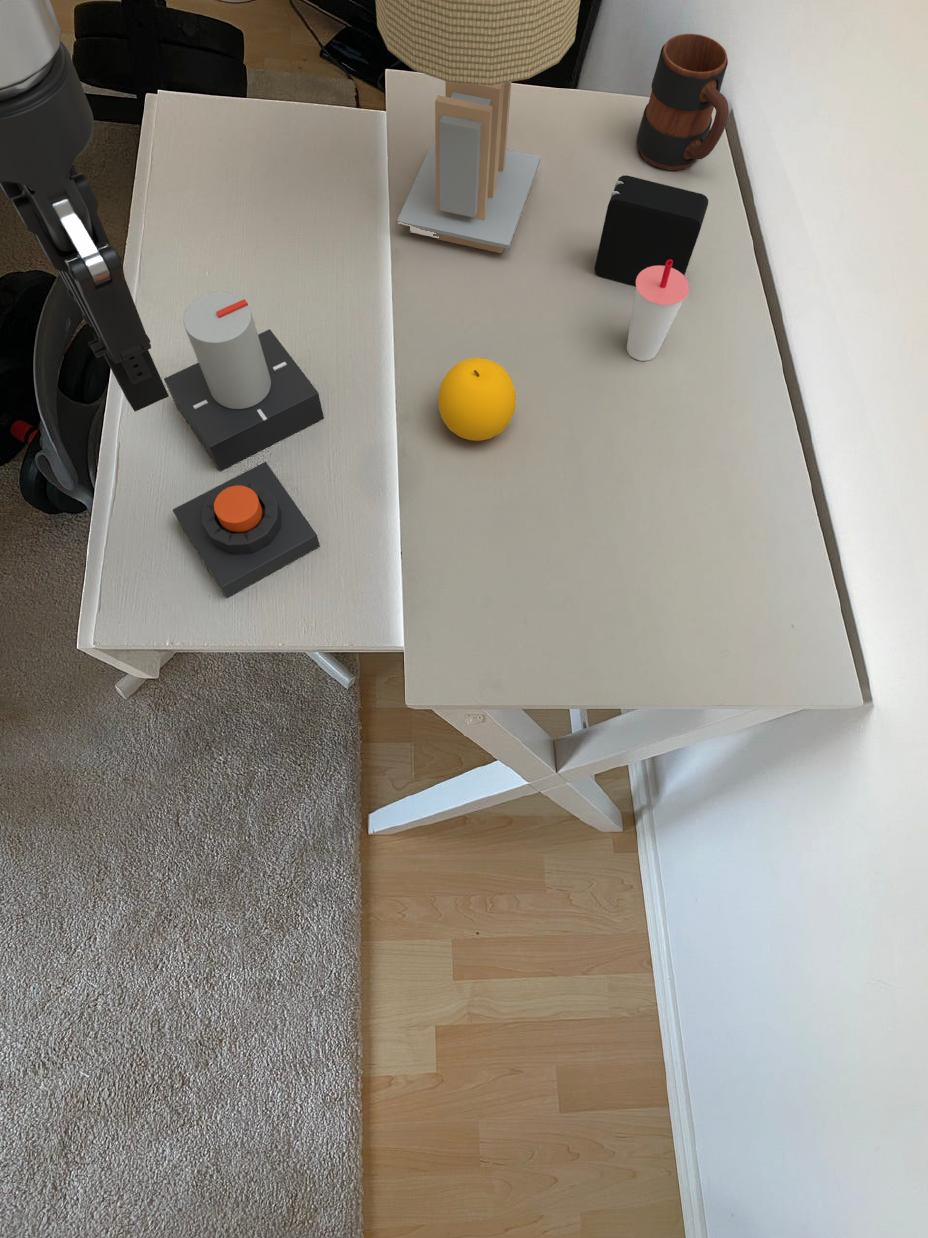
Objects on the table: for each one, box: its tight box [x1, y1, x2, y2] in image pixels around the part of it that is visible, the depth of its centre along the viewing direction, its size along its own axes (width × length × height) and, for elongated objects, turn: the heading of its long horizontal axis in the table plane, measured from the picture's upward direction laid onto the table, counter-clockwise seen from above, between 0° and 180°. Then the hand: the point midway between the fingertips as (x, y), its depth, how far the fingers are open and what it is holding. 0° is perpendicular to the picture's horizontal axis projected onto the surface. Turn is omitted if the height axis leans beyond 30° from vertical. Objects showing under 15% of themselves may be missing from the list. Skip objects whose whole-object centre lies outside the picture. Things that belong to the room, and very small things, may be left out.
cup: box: [626, 259, 690, 362], centre depth 81 cm, size 5×5×12 cm
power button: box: [214, 486, 262, 533], centre depth 72 cm, size 4×4×2 cm
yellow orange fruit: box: [437, 357, 517, 442], centre depth 79 cm, size 8×8×8 cm
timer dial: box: [182, 291, 271, 409], centre depth 74 cm, size 6×6×9 cm
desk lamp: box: [375, 0, 581, 254], centre depth 80 cm, size 20×20×35 cm
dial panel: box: [163, 328, 325, 472], centre depth 80 cm, size 12×10×4 cm
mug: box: [636, 33, 730, 171], centre depth 95 cm, size 9×12×12 cm
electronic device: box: [593, 174, 709, 287], centre depth 87 cm, size 4×10×10 cm, turn 71°
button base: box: [172, 461, 321, 599], centre depth 74 cm, size 10×10×4 cm
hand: (147, 396), depth 58 cm, fingers closed
